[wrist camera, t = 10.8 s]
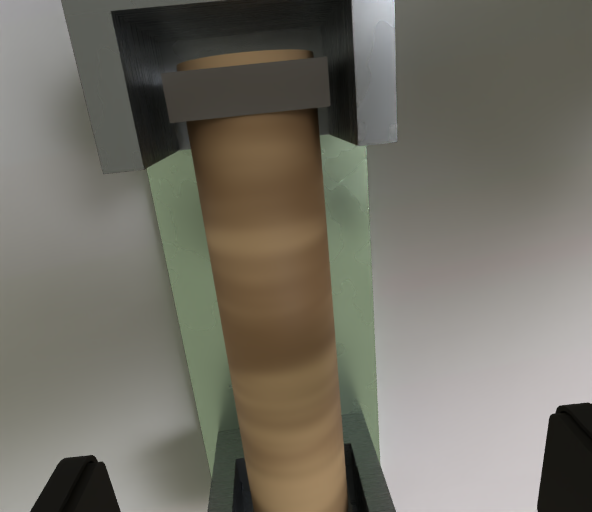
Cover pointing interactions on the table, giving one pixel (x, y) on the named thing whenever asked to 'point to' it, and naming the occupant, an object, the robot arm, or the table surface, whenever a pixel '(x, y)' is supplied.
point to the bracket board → (185, 198)
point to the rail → (270, 263)
